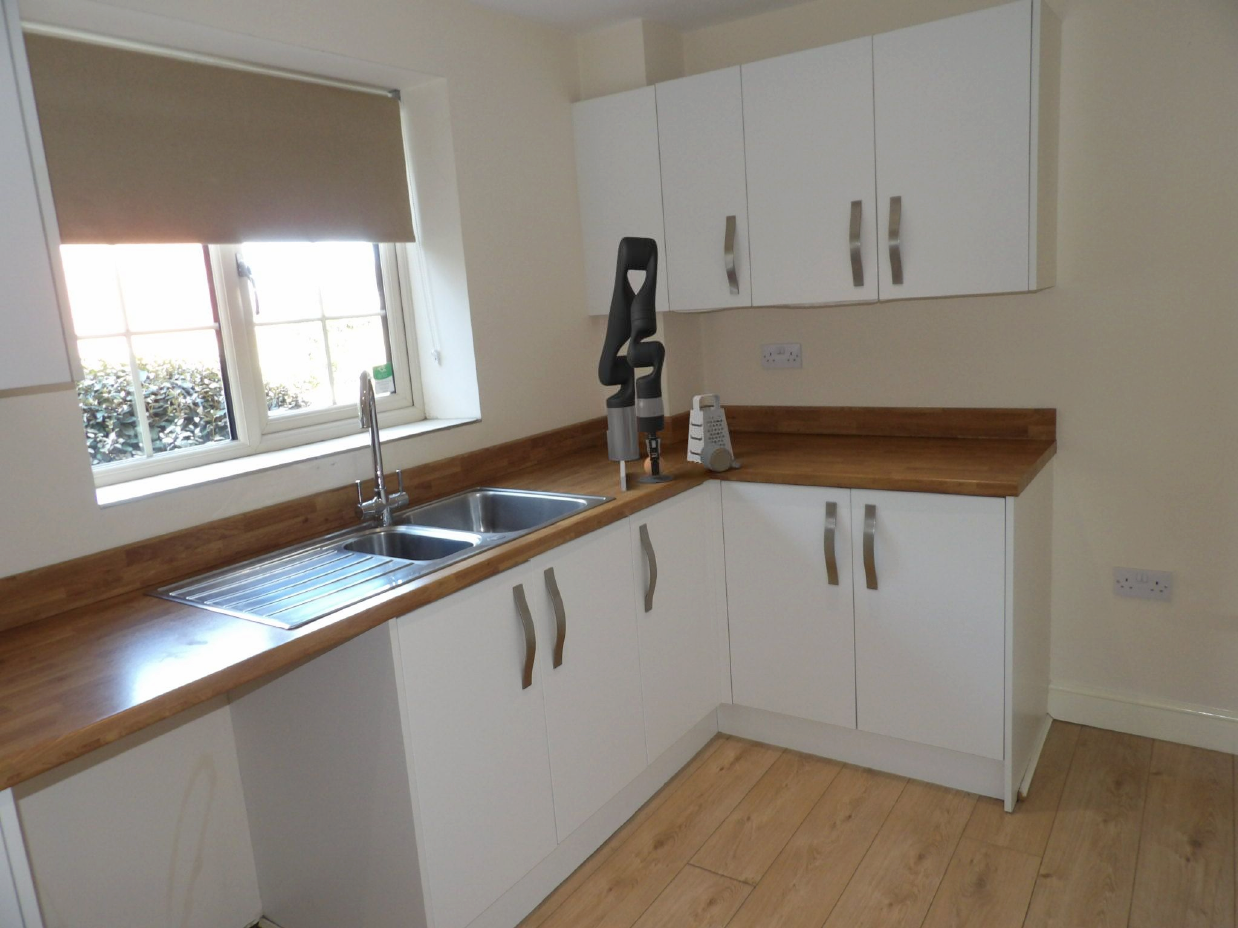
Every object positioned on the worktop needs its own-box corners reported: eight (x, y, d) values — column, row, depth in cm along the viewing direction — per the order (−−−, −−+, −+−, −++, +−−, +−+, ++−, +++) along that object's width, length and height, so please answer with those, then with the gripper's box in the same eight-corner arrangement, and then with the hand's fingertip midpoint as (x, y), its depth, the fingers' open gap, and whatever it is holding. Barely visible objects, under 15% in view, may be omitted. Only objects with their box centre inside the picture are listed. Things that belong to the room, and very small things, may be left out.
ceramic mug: (711, 474, 254) (709, 447, 253) (700, 469, 262) (698, 443, 260) (745, 470, 257) (744, 443, 256) (733, 465, 265) (732, 440, 263)
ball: (640, 477, 253) (638, 456, 252) (655, 473, 257) (653, 453, 256) (656, 479, 249) (654, 458, 248) (670, 475, 253) (669, 454, 252)
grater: (734, 459, 274) (730, 394, 270) (704, 464, 270) (699, 398, 266) (716, 455, 283) (711, 392, 280) (687, 460, 279) (682, 396, 276)
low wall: (621, 474, 265) (620, 461, 264) (625, 474, 265) (624, 460, 264) (621, 491, 242) (620, 476, 241) (626, 490, 241) (625, 476, 241)
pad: (630, 481, 253) (630, 480, 253) (654, 474, 260) (654, 473, 260) (656, 484, 246) (656, 483, 246) (680, 477, 253) (680, 476, 253)
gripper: (665, 415, 243) (670, 476, 246) (662, 409, 257) (667, 467, 260) (637, 418, 243) (642, 479, 246) (636, 411, 257) (641, 469, 260)
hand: (655, 472), depth 253 cm, fingers closed on ball, 5 cm apart
